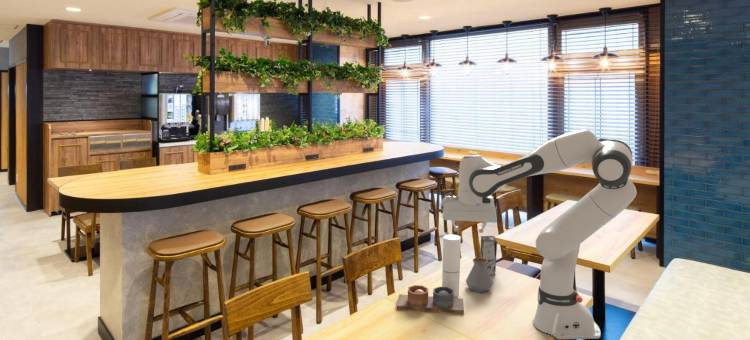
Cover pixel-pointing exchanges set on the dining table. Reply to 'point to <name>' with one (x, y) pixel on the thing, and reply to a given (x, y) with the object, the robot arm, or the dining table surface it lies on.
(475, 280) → the coffee pot
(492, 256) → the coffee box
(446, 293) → the slate ball
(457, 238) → the cylindrical container
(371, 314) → the dining table surface
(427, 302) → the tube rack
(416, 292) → the terracotta ball
